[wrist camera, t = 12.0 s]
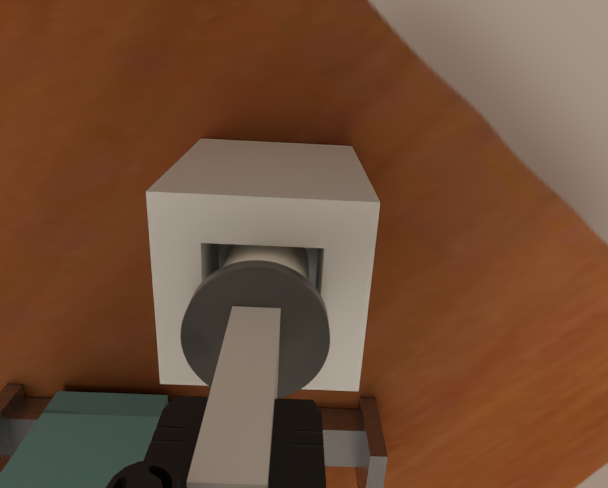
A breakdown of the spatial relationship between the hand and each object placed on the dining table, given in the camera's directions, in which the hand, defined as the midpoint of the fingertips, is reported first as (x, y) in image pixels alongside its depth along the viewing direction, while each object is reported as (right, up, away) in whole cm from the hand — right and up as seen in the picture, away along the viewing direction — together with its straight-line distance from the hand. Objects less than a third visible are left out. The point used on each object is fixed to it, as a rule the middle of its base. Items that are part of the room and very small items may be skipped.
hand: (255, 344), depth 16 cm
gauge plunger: (0, +2, +6) cm, 6 cm away
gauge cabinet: (0, +5, +12) cm, 13 cm away
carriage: (-11, -9, +17) cm, 22 cm away
